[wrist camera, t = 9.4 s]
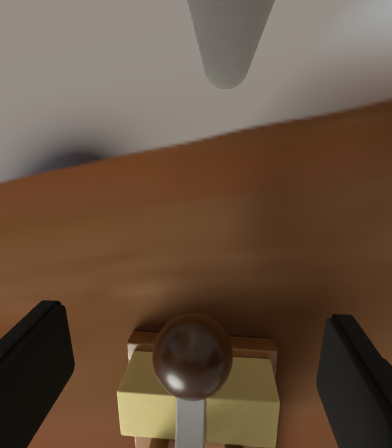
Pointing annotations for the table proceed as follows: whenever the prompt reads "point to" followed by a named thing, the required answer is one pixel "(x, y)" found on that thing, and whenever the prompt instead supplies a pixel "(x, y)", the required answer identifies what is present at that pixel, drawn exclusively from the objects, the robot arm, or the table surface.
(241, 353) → the wooden toy catapult
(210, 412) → the butter
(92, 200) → the table surface
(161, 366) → the ball knob on post
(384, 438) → the robot arm
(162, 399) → the butter
